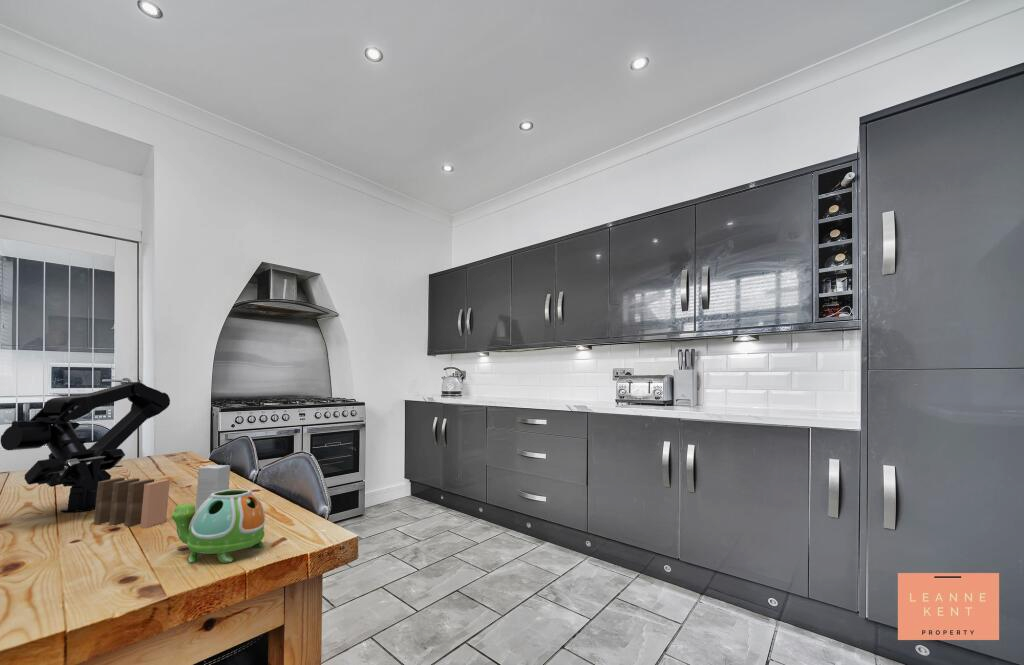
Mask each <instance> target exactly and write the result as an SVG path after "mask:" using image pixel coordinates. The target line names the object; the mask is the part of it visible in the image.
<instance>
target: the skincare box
mask: <svg viewBox="0 0 1024 665" xmlns="http://www.w3.org/2000/svg"><path fill="white" fill-rule="evenodd" d="M230 474H231V465H229V464H226V465H225V464H224V465H222V464H218V465H217V464H210V465H209V464H208V465H205V466H200V467H198V474H197V475H198V476H197V487H196V488H197V489H196V501H195V512H197V510H198V509H199V507H200V506H201V505H202V504H203V503H204V502H205V501H206V500H207V499H208V498H209V497H210V495H211V494H212V493H215V492H219V491H223V490H230V476H231V475H230Z"/></svg>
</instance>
